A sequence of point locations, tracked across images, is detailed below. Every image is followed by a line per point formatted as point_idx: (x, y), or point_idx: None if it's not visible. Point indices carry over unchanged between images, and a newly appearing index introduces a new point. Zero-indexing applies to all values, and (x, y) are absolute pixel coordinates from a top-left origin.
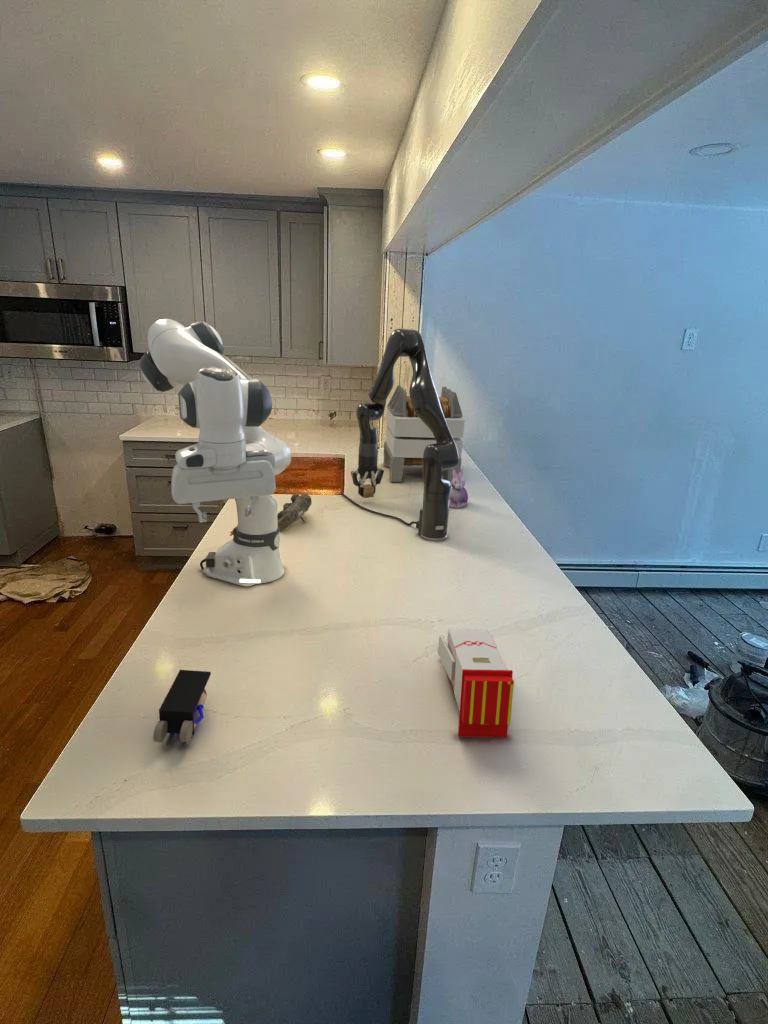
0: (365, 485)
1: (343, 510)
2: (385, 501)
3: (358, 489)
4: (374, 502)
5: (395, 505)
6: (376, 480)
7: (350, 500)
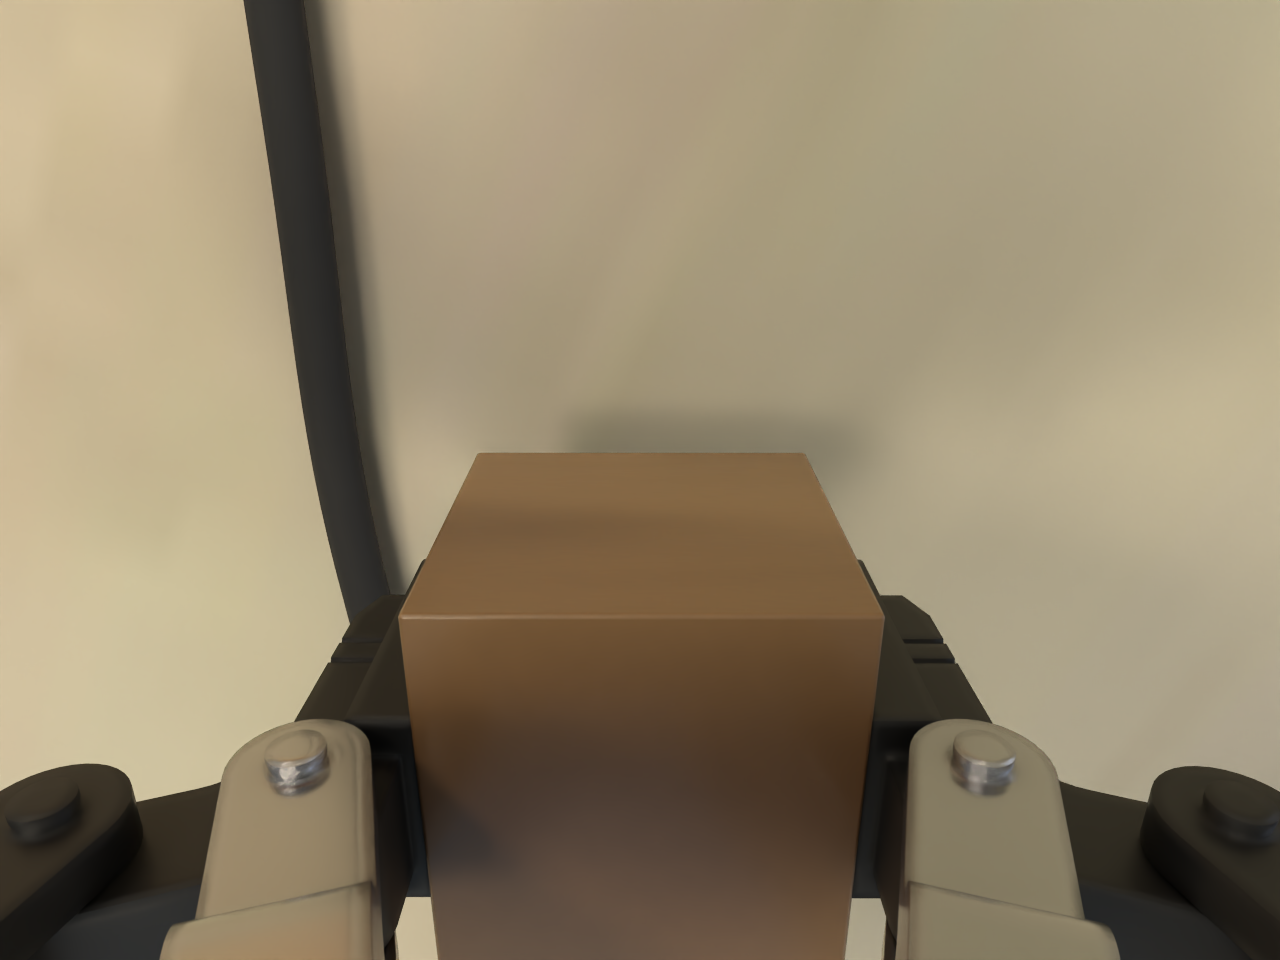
0: (614, 742)
1: (30, 708)
2: (1133, 511)
3: (318, 706)
4: (860, 490)
5: (1152, 779)
6: (1197, 954)
7: (289, 300)
